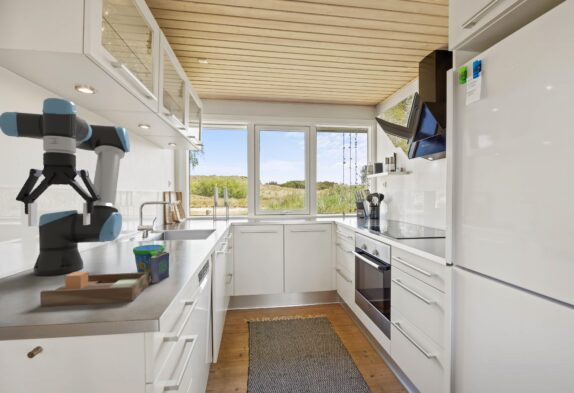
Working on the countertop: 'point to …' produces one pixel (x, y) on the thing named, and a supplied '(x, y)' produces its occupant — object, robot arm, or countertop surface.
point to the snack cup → (145, 256)
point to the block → (76, 280)
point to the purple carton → (159, 266)
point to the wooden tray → (99, 290)
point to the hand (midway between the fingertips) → (60, 225)
